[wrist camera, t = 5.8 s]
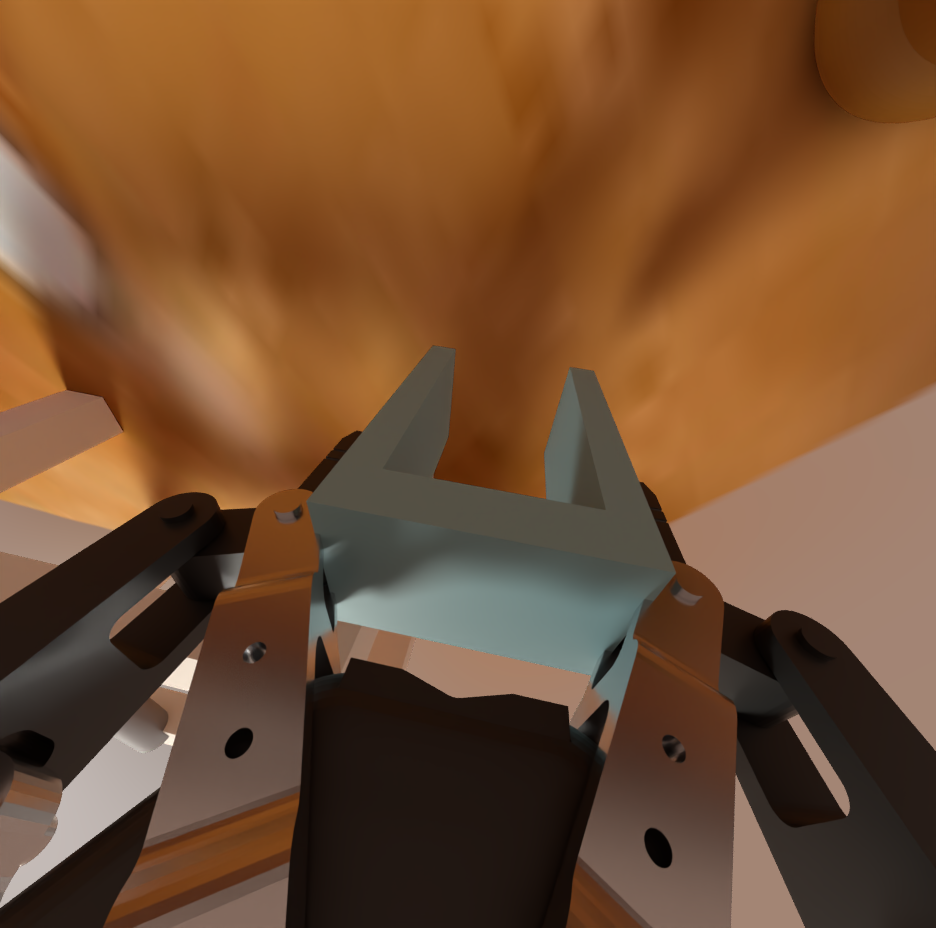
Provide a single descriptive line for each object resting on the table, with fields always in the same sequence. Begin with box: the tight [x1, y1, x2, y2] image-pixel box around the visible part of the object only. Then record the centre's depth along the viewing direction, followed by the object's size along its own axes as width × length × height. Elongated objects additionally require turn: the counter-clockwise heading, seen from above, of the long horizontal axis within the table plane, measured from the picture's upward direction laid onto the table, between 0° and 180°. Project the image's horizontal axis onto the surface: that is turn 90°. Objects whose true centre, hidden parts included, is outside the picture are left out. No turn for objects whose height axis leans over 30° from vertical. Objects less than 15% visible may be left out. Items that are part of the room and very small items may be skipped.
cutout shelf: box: [0, 390, 434, 753], centre depth 23 cm, size 18×28×15 cm, turn 84°
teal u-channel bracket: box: [306, 345, 676, 675], centre depth 10 cm, size 4×6×9 cm, turn 84°
